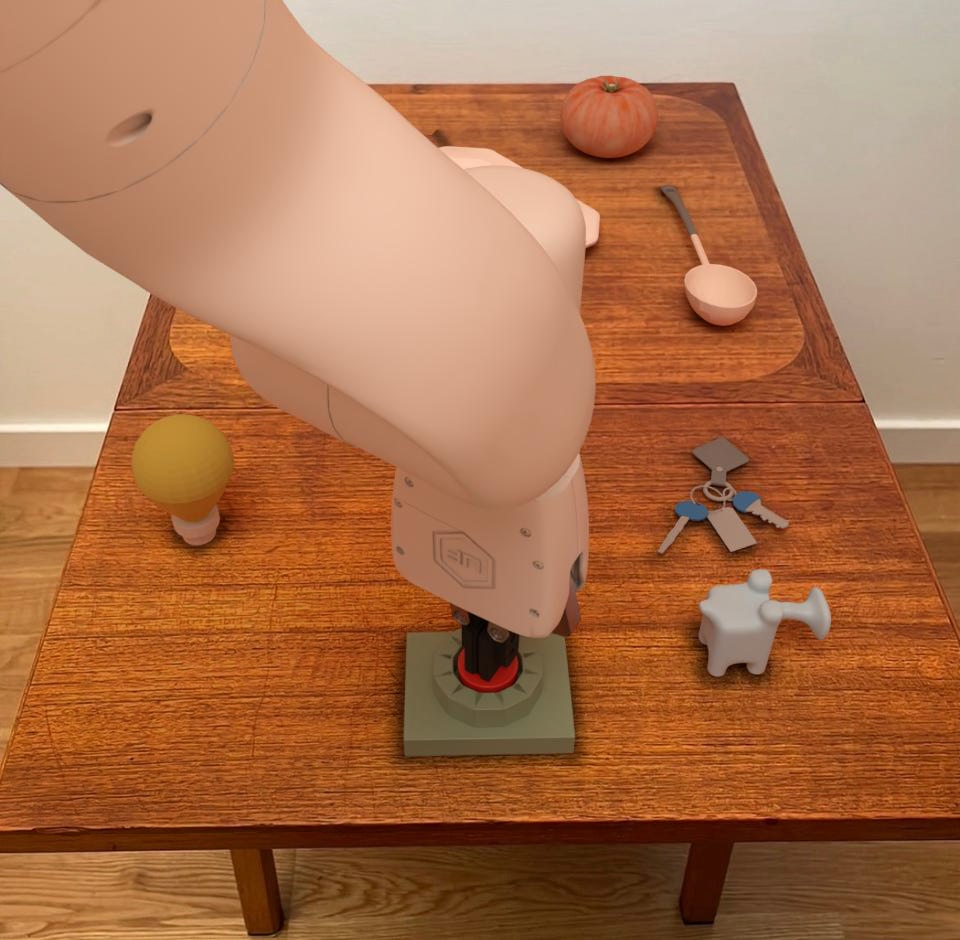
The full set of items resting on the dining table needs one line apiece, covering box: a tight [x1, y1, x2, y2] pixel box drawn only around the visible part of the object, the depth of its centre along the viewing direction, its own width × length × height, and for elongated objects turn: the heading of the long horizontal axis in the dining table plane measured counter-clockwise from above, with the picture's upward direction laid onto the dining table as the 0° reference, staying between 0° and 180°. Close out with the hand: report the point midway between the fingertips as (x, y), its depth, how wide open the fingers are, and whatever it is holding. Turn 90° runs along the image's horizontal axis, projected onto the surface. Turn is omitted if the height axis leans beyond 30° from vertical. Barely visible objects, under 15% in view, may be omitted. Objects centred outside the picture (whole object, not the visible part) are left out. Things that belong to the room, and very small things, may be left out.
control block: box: [402, 627, 576, 757], centre depth 66 cm, size 10×8×4 cm
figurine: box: [698, 568, 832, 678], centre depth 68 cm, size 4×8×6 cm, turn 94°
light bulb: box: [130, 413, 235, 546], centre depth 75 cm, size 7×7×10 cm
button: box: [458, 649, 518, 693], centre depth 66 cm, size 4×4×2 cm
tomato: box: [559, 75, 659, 159], centre depth 120 cm, size 11×11×8 cm
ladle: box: [660, 184, 758, 327], centre depth 105 cm, size 6×28×5 cm, turn 3°
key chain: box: [657, 437, 790, 555], centre depth 80 cm, size 14×8×1 cm, turn 159°
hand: (490, 659), depth 65 cm, fingers closed
